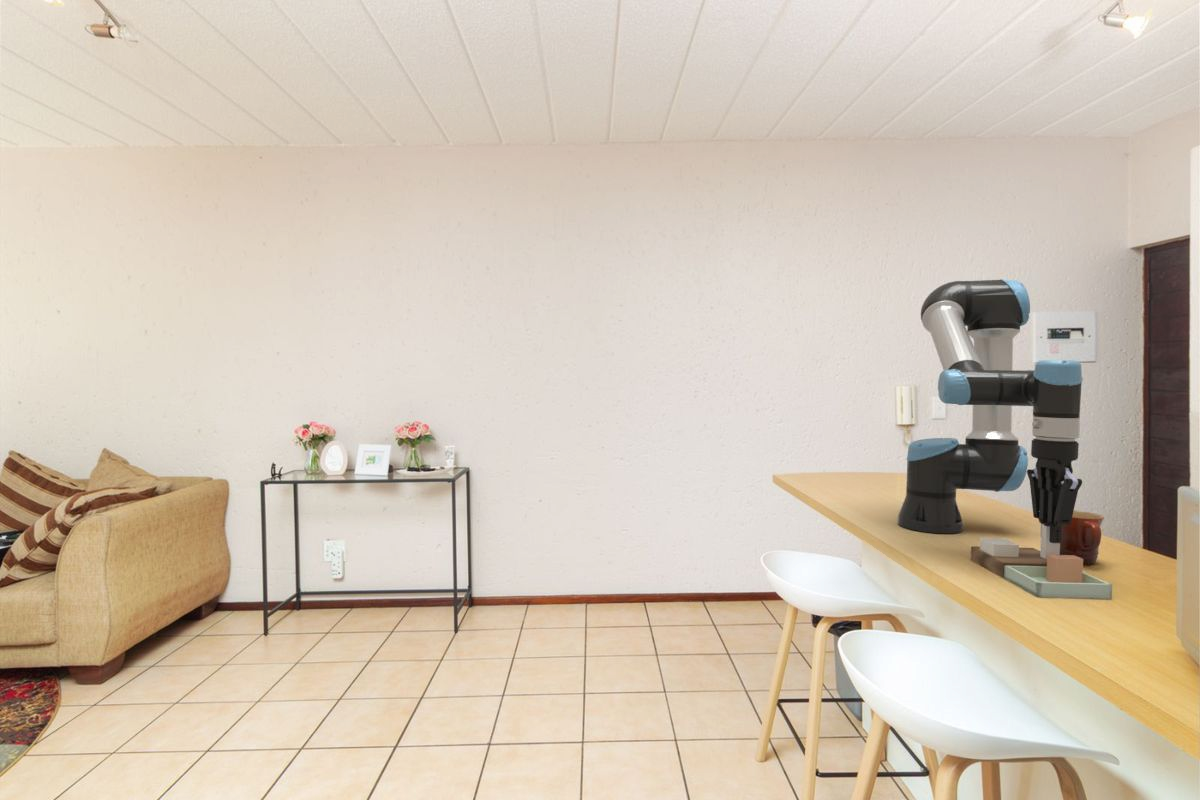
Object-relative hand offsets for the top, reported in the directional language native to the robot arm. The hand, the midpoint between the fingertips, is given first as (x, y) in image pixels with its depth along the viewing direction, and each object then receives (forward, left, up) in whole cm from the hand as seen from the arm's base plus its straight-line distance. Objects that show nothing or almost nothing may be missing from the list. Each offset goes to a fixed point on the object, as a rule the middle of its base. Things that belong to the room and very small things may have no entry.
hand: (1049, 557), depth 126 cm
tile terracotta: (+3, 0, -1) cm, 3 cm away
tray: (+6, -2, -4) cm, 8 cm away
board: (-6, -2, -4) cm, 8 cm away
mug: (-12, +14, -5) cm, 19 cm away
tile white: (-7, -6, -1) cm, 9 cm away
